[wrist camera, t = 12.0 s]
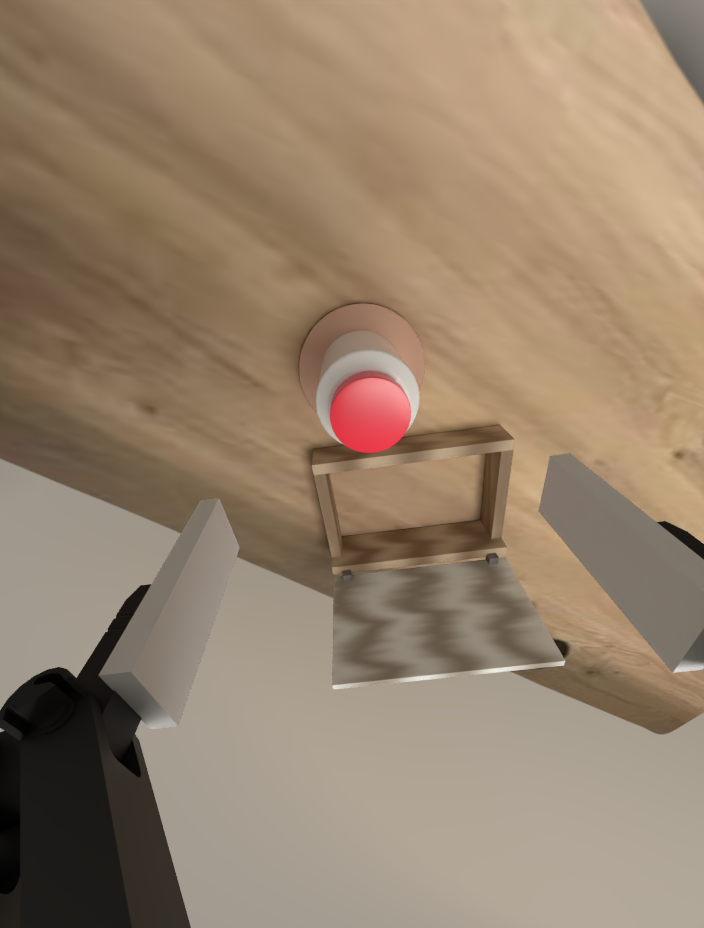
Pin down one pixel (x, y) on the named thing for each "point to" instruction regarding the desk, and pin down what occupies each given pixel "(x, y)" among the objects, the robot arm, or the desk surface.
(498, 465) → the frame
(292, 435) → the desk surface
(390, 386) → the pill bottle
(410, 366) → the saucer
